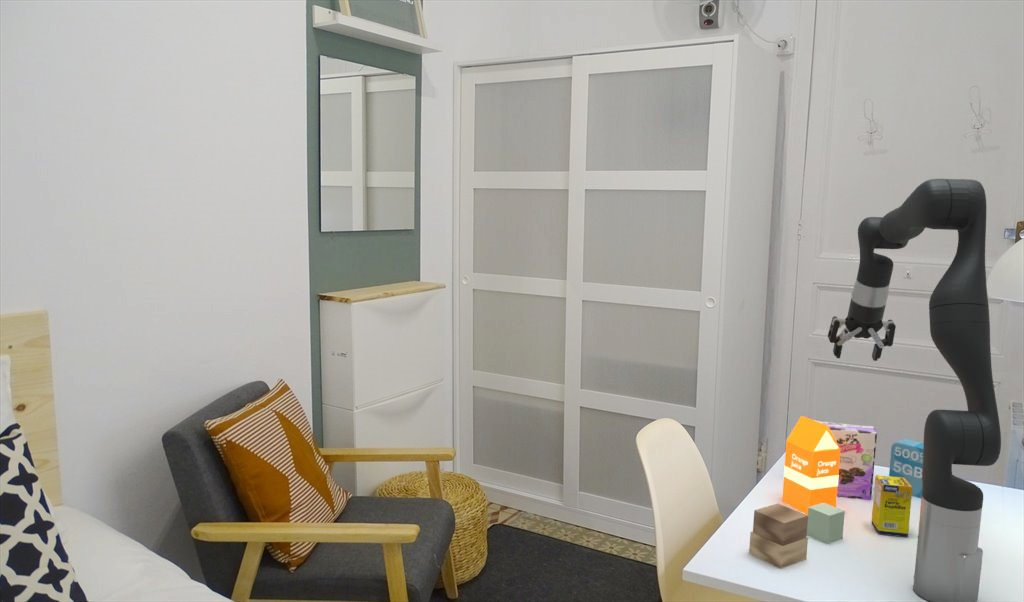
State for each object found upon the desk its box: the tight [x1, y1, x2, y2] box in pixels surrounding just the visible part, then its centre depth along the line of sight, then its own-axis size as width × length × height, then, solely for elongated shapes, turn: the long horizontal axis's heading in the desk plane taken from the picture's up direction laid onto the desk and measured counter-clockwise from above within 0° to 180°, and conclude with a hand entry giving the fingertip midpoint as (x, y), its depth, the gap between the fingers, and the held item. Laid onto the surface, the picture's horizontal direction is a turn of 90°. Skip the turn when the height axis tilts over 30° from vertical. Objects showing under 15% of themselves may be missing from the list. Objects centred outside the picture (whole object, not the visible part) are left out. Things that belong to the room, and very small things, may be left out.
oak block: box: [748, 530, 809, 569], centre depth 152 cm, size 8×8×4 cm
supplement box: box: [871, 474, 913, 538], centre depth 165 cm, size 6×6×11 cm
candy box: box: [813, 419, 878, 501], centre depth 186 cm, size 14×6×16 cm, turn 73°
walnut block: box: [752, 503, 808, 546], centre depth 152 cm, size 7×7×4 cm
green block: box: [807, 503, 846, 545], centre depth 162 cm, size 5×5×6 cm
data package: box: [888, 438, 924, 499], centre depth 187 cm, size 12×4×12 cm, turn 40°
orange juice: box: [781, 415, 841, 515], centre depth 177 cm, size 8×9×20 cm
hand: (855, 357), depth 190 cm, fingers open, 8 cm apart
